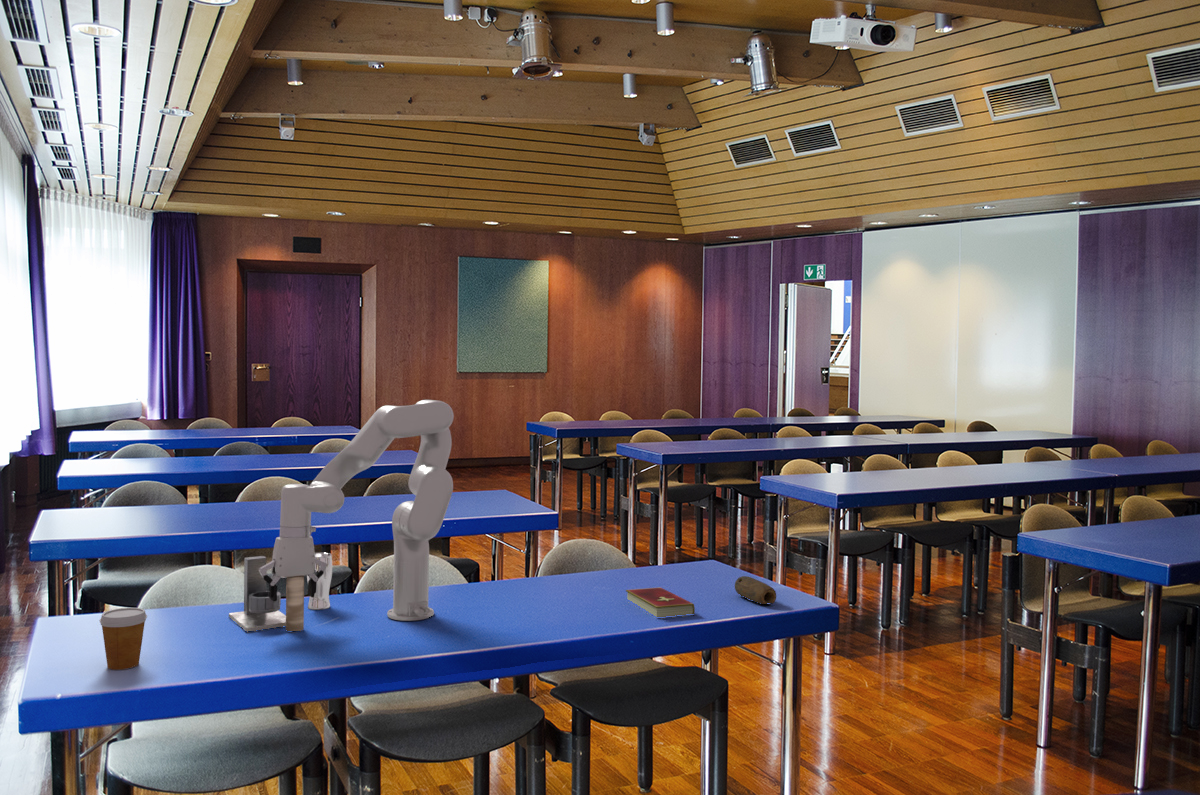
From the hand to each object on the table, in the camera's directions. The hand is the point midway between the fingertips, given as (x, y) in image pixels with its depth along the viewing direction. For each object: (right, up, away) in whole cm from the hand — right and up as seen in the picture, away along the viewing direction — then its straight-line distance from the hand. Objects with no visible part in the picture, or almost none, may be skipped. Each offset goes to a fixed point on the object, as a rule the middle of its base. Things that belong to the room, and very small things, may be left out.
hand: (292, 598), depth 234 cm
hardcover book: (+97, -10, +30) cm, 102 cm away
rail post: (0, -8, 0) cm, 8 cm away
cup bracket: (-11, -8, +8) cm, 16 cm away
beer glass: (0, -8, +23) cm, 25 cm away
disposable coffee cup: (-28, -9, -30) cm, 42 cm away
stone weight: (+126, -10, +40) cm, 133 cm away
